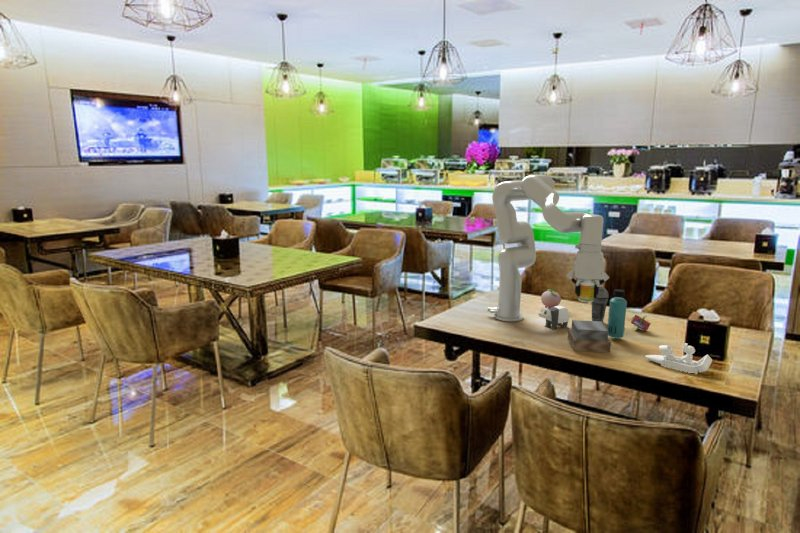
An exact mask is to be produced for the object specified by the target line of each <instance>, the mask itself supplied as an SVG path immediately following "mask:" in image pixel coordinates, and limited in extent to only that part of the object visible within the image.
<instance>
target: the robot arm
mask: <svg viewBox="0 0 800 533" xmlns="http://www.w3.org/2000/svg"><path fill="white" fill-rule="evenodd" d="M555 187H556V186H555V182H554V179H553V178H552V177H551V176H550V175H547V174H530V175H527V176H525V177H523V179H522V180H506V181H501V182H499V183H498V184H497V185H496V186H494V188H493V191H492V204H493V208H494V212H495V218H496V225H497V233H498V238H499V241H500V243H502V244H504V245H514V244H516V245H517V246H512V247H506V248H503V249H501V251H500V252H499V253H498V255H497V263H498V271H499V272H498V273H499V276H498V277H499V280H498V281H499V282H498V283H499V284H498V285H499V286H498V301H497V302H498V303H497V304H498V305H496V306H494V307H489V306H488V307H487V312H488V313H490V314H494V315H493V317H494V319H496V320H498V321H502V322H508V323H509V322H511V323H512V322H514V323H515V322H520V321H523V319H524V315H523V314H522V313H520V312H521V297H522V296H521V295H522V275H521V273H520V271H519V269H523V268H529V267H531V266H533V265H534V264H535V262H536V260H537V252H536V243H535V235H534V230H533V228H532V225H531V224H529V222H527V221H522V220H521V221H518V219H517V218H518V217H517V213H516V209H515V207H514V205H513V204H512V203H511V202H517V201H529V200H531V201H532V202H534V203H535V204H536V205H537V206H538V207H540V208H541V212H542V216H543V219H544V221H545V223H547V224H548V225H549V226H550V227H551V228H553V229H554V231H557V232H559V233H560V234H569V233H570V234H571V233H580V234H579V242H578V244H575V247H574V248H575V249H577V251H576V254H575V258H574V265H573V267H572V270H570V271H569V272H568V273H567V274H566V277H567V279H569V280H570V281H571V282H572V283H573V284H574V295H576V296H577V297H579V296H580V286H579V285H580V281H581V280H582V279H586V280H592V281H593V282H594V283H595V288H594V297H597V295H598V291H599V287H601V284H602V285H603V284H604V283H605V282H607V281H608V280H609V279H610V276H609V275H608V274H607V273H606V272H605V269H604V268H605V265H604V264H605V258H604V253H603V252H602V242H603V232H604V231H603V230H604V217H603V216H602V215H600V214H594V213H593V214H592V213H591V214H589V213H587V212H583V211H574V212H573V211H571V212H564V211H563V210H561V209H560V208H559V207H558V206H557V205H558V203H559V200H560V194H559V192H558V191H556V190H555ZM573 276H574V277H573Z"/></svg>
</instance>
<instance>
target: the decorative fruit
mask: <svg viewBox="0 0 800 533" xmlns="http://www.w3.org/2000/svg"><path fill="white" fill-rule="evenodd" d="M540 301H541V303H542V304H543V305H544V307H545V306H546V307H547V308H548V307H549V308H552V307H555V306H560V303H561V302H562V297H561V295H560V293H558V292H556V291H554V290H553V288H550V289H547V290H546V291H544V292H542V294H541V296H540Z"/></svg>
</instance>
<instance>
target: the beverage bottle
mask: <svg viewBox="0 0 800 533" xmlns="http://www.w3.org/2000/svg"><path fill="white" fill-rule="evenodd" d="M625 295H626V291H625V290H624V289H614V290H613V296H614V297H612V298H610V300H609V306H608V316H607V318H608V319H607V325H606V328H607V330H608V337H610V338H615V339H617V338H619V339H621V338H623V337H624V335H625V325H626V314H627V313H626V312H627V305H628V301H627V300H626V299H625V298H623V297H625Z"/></svg>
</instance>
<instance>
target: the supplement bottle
mask: <svg viewBox="0 0 800 533" xmlns="http://www.w3.org/2000/svg"><path fill="white" fill-rule="evenodd" d="M579 286H580V296H579V297H578V299H577V300H578V301H579V302H581V303H592V302H593V300H594V288H595V281H594V280H586V279H581V281H580V285H579Z"/></svg>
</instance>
